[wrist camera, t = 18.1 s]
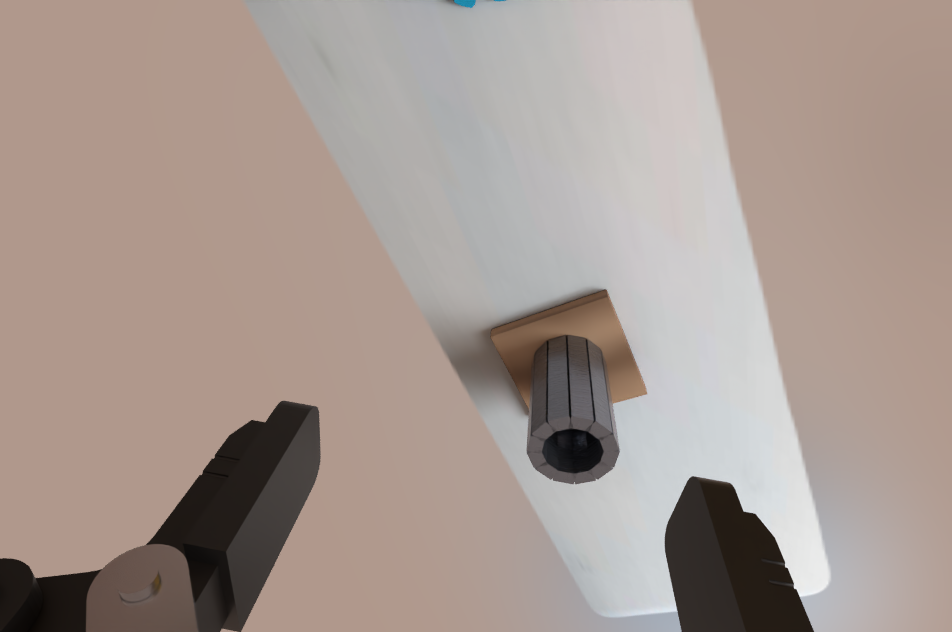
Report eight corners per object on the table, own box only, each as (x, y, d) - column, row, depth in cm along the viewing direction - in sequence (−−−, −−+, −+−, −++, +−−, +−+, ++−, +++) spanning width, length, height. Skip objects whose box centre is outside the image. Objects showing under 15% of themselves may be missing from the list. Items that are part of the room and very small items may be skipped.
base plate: (491, 329, 45) (490, 336, 44) (606, 289, 42) (607, 296, 41) (537, 415, 49) (537, 424, 48) (645, 385, 46) (647, 394, 45)
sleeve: (526, 387, 46) (520, 474, 38) (539, 329, 43) (536, 409, 35) (595, 399, 46) (605, 490, 38) (613, 342, 43) (628, 426, 34)
